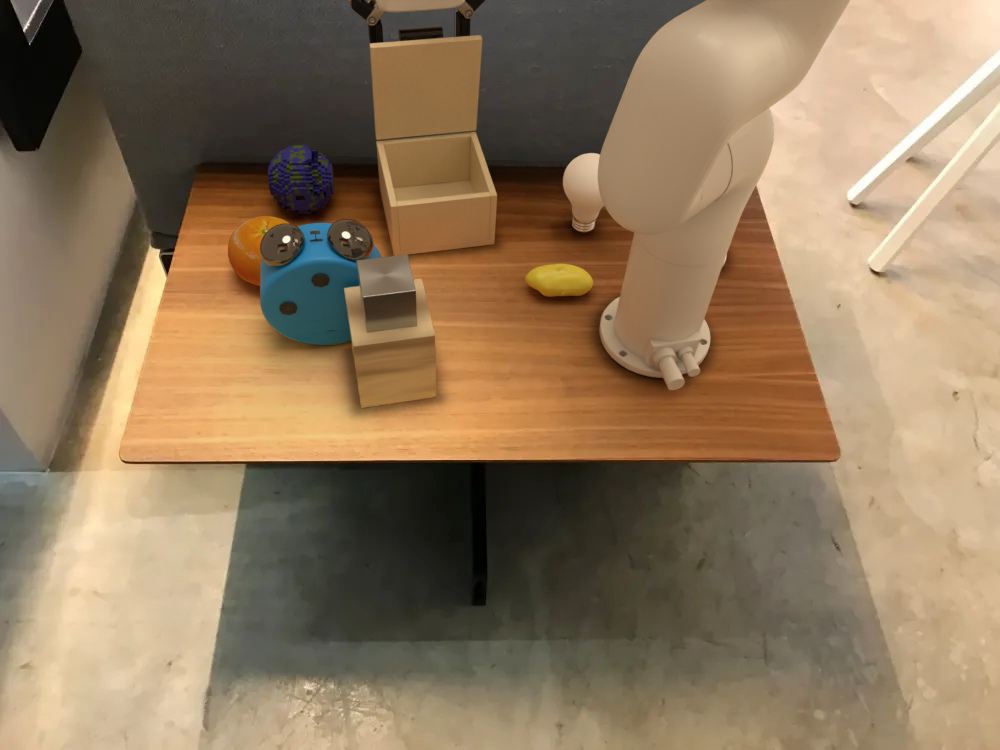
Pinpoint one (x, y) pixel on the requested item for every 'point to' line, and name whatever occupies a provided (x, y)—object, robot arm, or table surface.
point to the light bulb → (583, 191)
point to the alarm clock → (312, 278)
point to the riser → (393, 355)
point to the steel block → (387, 293)
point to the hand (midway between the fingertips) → (420, 48)
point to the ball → (301, 179)
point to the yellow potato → (559, 280)
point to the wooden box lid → (425, 83)
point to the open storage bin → (436, 193)
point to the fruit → (250, 247)
